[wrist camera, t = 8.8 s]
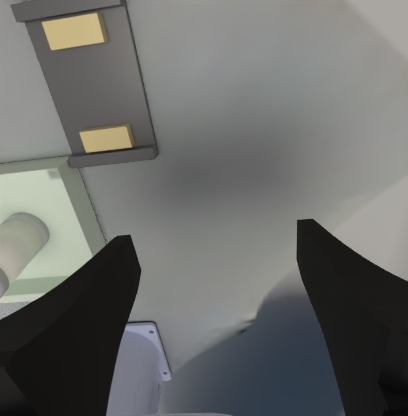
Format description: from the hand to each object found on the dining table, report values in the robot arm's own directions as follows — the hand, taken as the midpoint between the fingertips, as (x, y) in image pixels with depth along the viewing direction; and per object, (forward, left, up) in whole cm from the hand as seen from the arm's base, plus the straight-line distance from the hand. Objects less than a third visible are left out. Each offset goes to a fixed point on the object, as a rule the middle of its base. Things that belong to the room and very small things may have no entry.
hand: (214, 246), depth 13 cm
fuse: (-4, +16, -9) cm, 19 cm away
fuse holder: (+6, +7, -10) cm, 14 cm away
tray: (-4, +16, -10) cm, 19 cm away
